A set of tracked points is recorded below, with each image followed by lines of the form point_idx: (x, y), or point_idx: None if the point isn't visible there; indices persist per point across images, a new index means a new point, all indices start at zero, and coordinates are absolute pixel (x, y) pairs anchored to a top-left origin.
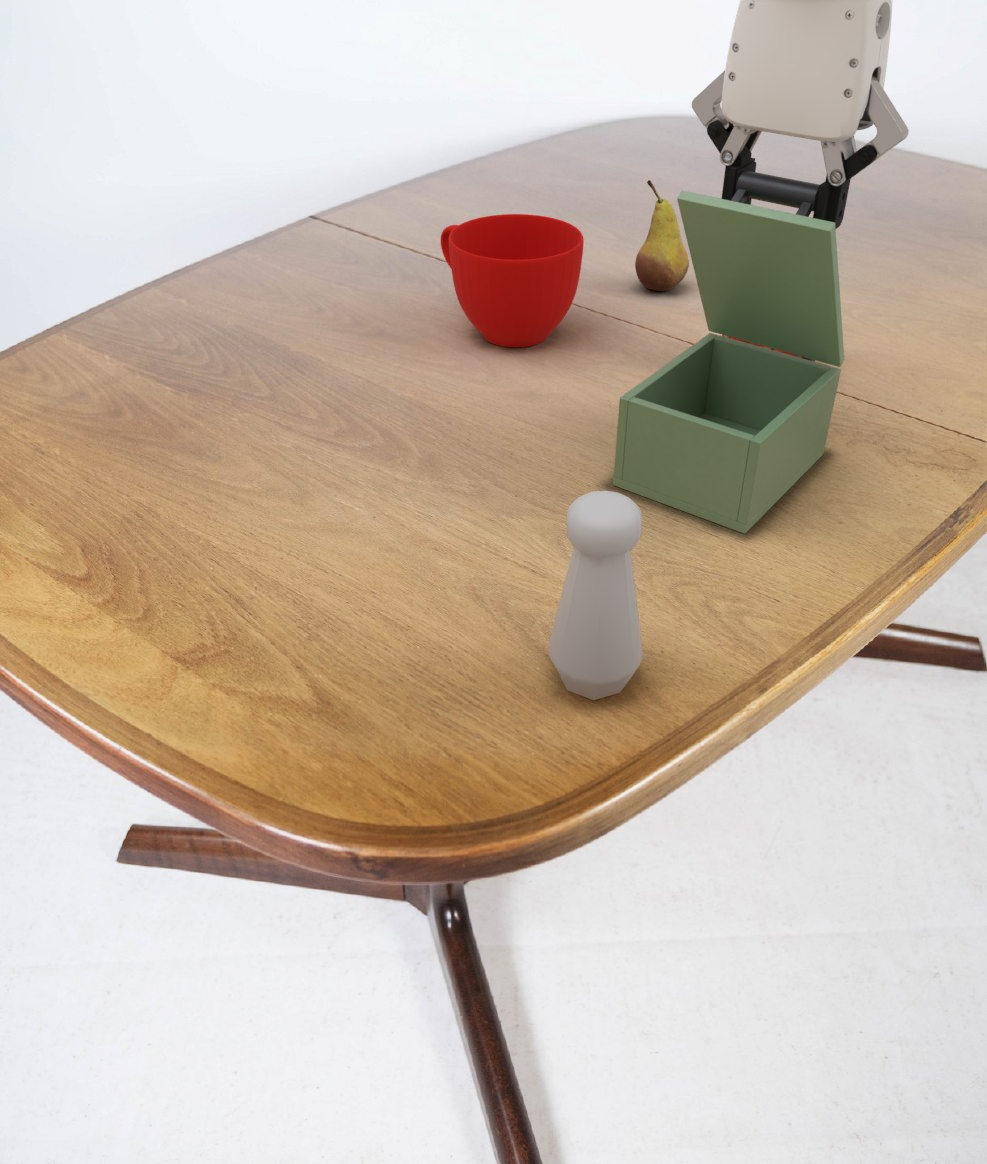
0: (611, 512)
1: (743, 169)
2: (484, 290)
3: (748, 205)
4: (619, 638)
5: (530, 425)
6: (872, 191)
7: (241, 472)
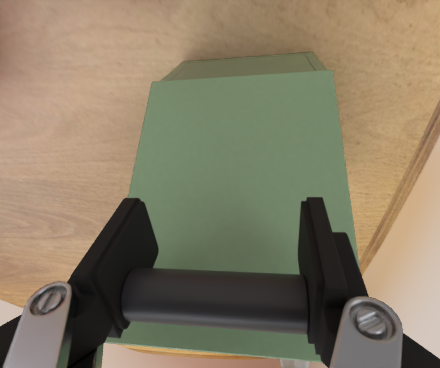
0: None
1: (120, 317)
2: None
3: (213, 352)
4: None
5: (107, 162)
6: None
7: (65, 271)
